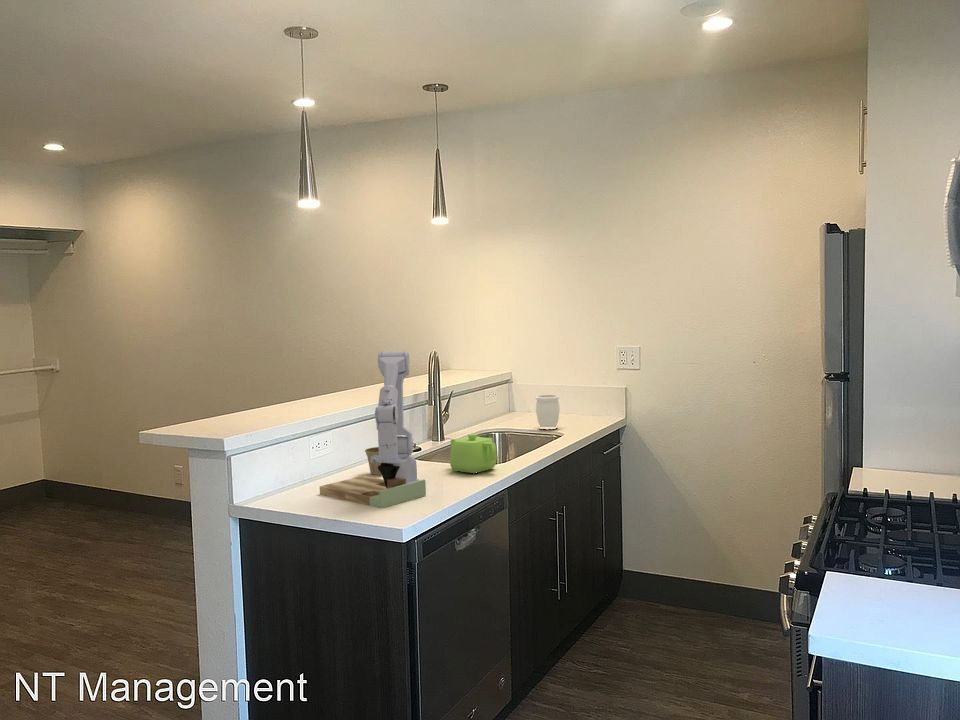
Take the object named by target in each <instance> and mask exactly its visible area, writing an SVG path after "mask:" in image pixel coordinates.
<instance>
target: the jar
mask: <svg viewBox="0 0 960 720" xmlns="http://www.w3.org/2000/svg"><path fill="white" fill-rule="evenodd" d="M559 399H560V396H559V395H555V394H544V395H542V394H541V395H537V396H535V400H536V405H535V413H536V418H537V422H538V425H539V427H556V426H558V422H559V418H560V403H559Z"/></svg>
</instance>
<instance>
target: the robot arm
mask: <svg viewBox="0 0 960 720" xmlns="http://www.w3.org/2000/svg"><path fill="white" fill-rule="evenodd" d="M377 366H378V369H379V373H380V374H381V376H382V377H383V386H382V387H381V388H380V389H379V395H378V403H377V404H378V405H377V406H376V407H375V409H374V419H375V424H376V430H377V438H378V440H377V441H378V442H377V443H378V447H379V456H378V455H374V456H371V462H373V463H374V462H376V463H381V465H380V466H378V469H379V471H380V473H381V474H382V475H381V477H382V479H383V480H384V483H385V486H386V488H387V480H388V479H392V478H396V477H399V478H404V479H406V484H407V483H411V482H415V481H419V480H420V479H418V472H417V470H418V469H417V467H418V465H417V460H416V458H415V456H414V455H412V454H413V453H414V439H413V434H412V431H411V430H409V429H408V428H407V427H405V426H404V425H405V424H404V423H405V422H404V420H405V419H404V380H405V377H408V376H409V374H410V354H409V351H407V350H404V351H403V350H401V351H399V350H398V351H395V350H394V351H379V352H378V354H377Z"/></svg>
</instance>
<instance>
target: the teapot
mask: <svg viewBox="0 0 960 720" xmlns="http://www.w3.org/2000/svg"><path fill="white" fill-rule="evenodd" d="M493 441H494V438H493V437H485V436H484V437H483V436H478V434H477V433H469V434H467V437H462V438H452V439H450V449H449V454H450V456H449V457H450V459H449V463H450V464H449V465H450V467H451V469H452V471H454V472H455V471H456V472H458V471H460V472H459V473H469V474H471V473H476V472H478V473H481V472H486V471H485V470H488V469H489V470H492V469H493V468H495V467H496V464H497V459H498V454H497V452H498V451H497V447H496V443H495V442H493ZM494 466H495V467H494ZM489 470H488V471H489Z"/></svg>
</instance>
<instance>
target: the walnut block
mask: <svg viewBox="0 0 960 720" xmlns="http://www.w3.org/2000/svg"><path fill="white" fill-rule="evenodd" d="M404 484H406V479H404V478H399V477H396V478H392V479H388V480H387V488H388V489H389V488H392V487H396V486H400V485H404Z"/></svg>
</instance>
